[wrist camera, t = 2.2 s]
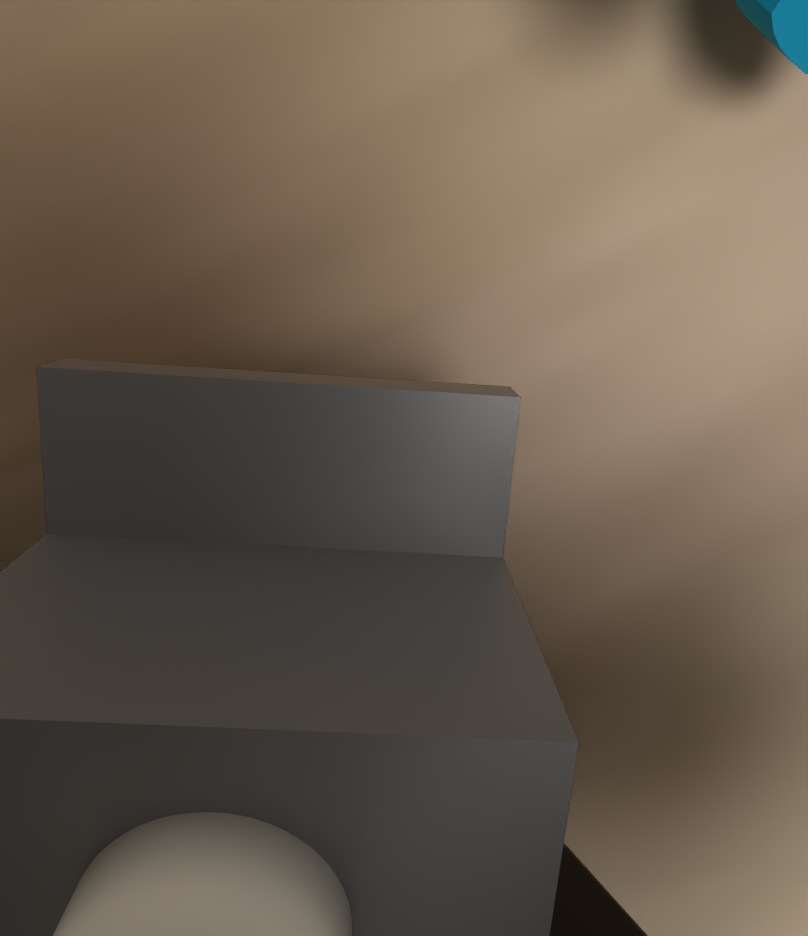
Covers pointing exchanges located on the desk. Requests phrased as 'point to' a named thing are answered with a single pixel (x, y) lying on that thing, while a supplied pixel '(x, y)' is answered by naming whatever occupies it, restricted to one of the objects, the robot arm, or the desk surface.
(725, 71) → the desk surface
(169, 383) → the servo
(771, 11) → the gear
